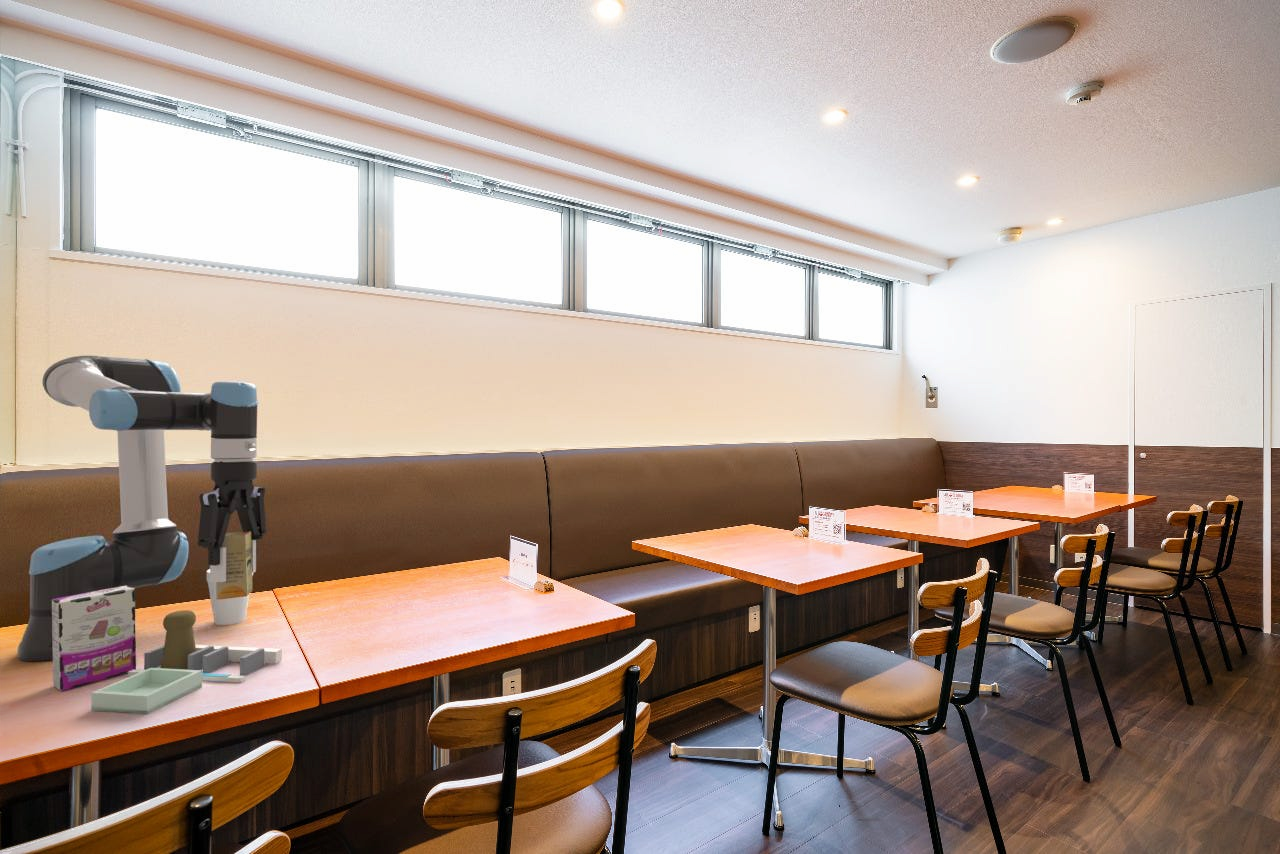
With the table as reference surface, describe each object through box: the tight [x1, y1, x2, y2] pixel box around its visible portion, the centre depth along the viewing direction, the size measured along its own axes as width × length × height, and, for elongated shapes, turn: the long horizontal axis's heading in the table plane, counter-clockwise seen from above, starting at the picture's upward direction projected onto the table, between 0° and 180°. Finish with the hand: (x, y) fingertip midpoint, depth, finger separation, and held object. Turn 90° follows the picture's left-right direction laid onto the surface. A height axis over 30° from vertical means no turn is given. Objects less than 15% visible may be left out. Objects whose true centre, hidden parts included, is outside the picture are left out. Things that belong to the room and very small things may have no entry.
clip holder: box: [127, 644, 283, 683], centre depth 118 cm, size 24×10×4 cm, turn 83°
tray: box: [90, 667, 203, 715], centre depth 105 cm, size 11×11×3 cm
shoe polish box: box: [215, 531, 253, 600], centre depth 117 cm, size 5×5×12 cm
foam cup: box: [206, 568, 254, 626], centre depth 147 cm, size 10×9×13 cm
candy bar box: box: [52, 586, 137, 693], centre depth 113 cm, size 11×5×16 cm, turn 148°
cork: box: [160, 609, 197, 670], centre depth 118 cm, size 6×6×11 cm
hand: (233, 576), depth 117 cm, fingers closed on shoe polish box, 7 cm apart
